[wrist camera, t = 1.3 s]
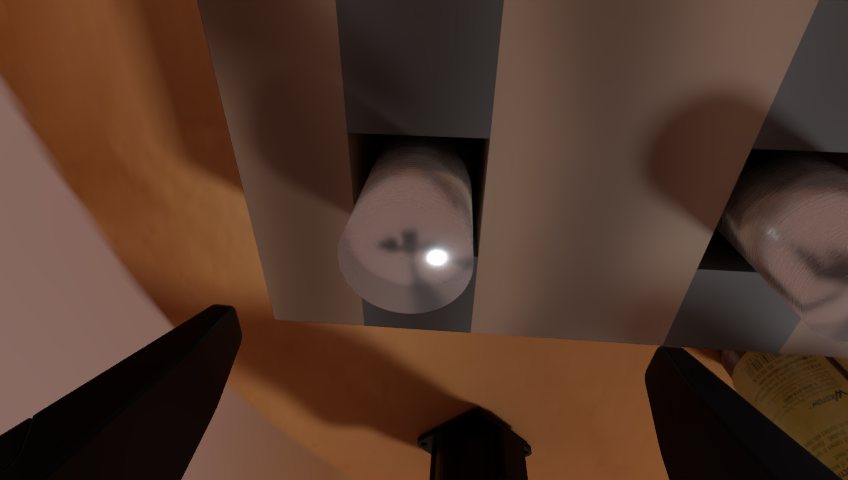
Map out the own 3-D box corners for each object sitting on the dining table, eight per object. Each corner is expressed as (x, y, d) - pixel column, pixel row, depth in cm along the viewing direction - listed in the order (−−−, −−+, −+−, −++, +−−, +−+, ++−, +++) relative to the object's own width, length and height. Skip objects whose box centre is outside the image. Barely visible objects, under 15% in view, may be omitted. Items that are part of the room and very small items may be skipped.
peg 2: (809, 129, 15) (1024, 232, 9) (764, 216, 17) (918, 346, 11) (705, 125, 15) (851, 224, 10) (672, 211, 17) (777, 337, 12)
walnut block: (920, -10, 16) (1191, 7, 10) (772, 256, 22) (881, 360, 16) (286, -21, 17) (194, -12, 11) (321, 231, 24) (274, 319, 18)
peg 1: (474, 117, 16) (479, 206, 10) (467, 202, 18) (468, 317, 12) (379, 114, 16) (330, 198, 10) (383, 198, 18) (343, 309, 12)
